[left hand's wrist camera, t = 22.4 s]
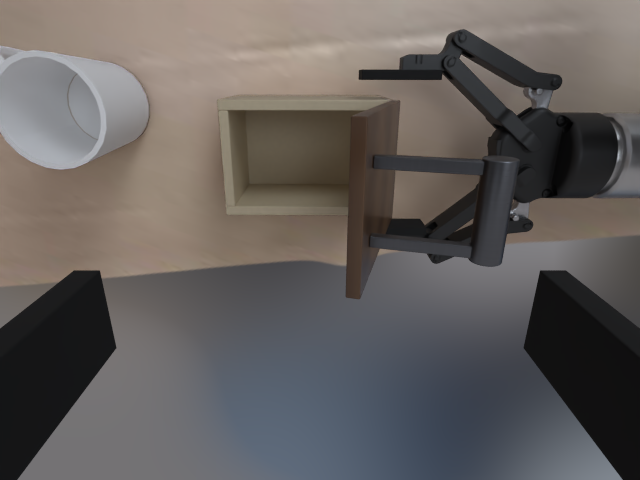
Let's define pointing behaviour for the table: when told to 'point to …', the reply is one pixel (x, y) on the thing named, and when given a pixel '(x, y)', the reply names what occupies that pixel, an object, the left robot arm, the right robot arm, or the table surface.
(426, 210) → the table surface
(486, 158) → the lid
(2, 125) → the mug
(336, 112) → the chest
